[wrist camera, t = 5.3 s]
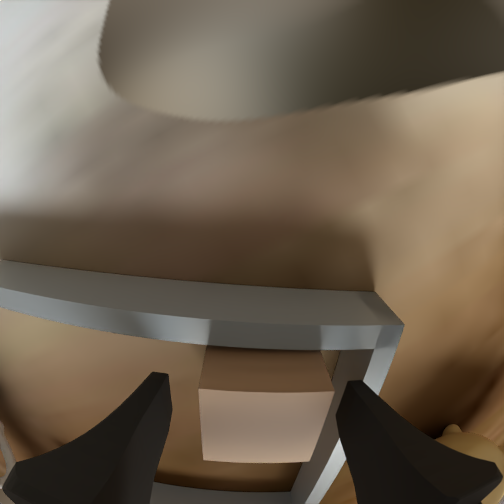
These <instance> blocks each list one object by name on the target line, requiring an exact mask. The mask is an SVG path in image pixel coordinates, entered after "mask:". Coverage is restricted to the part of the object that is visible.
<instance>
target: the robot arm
mask: <svg viewBox="0 0 504 504" xmlns="http://www.w3.org/2000/svg"><path fill="white" fill-rule="evenodd" d="M171 415H172V402H171V394H170V385H169V376H168V374H166V373H159V372H152V373H151V374H150V375H149V376H148V377H147V378H146V379H145V380H144V381H143V383H142V384H141V385H140V386H139V387H138V388H137V389H136V390H135V391H134V392H133V393H132V394H131V395H130V396H129V397H128V398H127V399H126V400H125V401H124V402H123V403H122V404H121V405H120V406H119V407H118V408H117V409H116V410H114V411H113V412H112V413H111V414H110V415H109V416H108V417H106V418H105V419H104V420H103V421H101V422H100V423H99V424H98V425H96V426H95V427H93V428H92V429H91V430H89V431H88V432H86V433H85V434H83V435H81V436H80V437H78V438H76V439H75V440H73V441H71V442H69V443H67V444H66V445H64V446H61V447H59V448H57V449H55V450H52V451H50V452H48V453H45V454H43V455H40V456H37V457H34V458H30V459H27V460H23V461H19V462H16V463H15V465H14V466H13V468H12V469H11V471H10V473H9V475H8V477H7V479H6V480H5V482H4V484H3V486H2V489H3V491H4V493H5V494H6V495H7V496H8V497H9V498H10V499H11V500H12V501H13V502H14V503H15V504H150V499H151V493H152V487H153V481H154V477H155V474H156V470H157V467H158V464H159V461H160V457H161V454H162V451H163V448H164V445H165V441H166V438H167V435H168V432H169V426H170V421H171ZM335 416H336V422H337V428H338V434H339V438H340V441H341V444H342V447H343V450H344V453H345V456H346V459H347V463H348V466H349V469H350V472H351V475H352V478H353V482H354V486H355V491H356V497H357V503H358V504H482V502H481V501H482V500H483V499H484V498H485V497H486V496H488V495H489V494H490V493H491V492H492V491H493V490H494V489H495V488H496V487H497V486H498V485H499V484H500V483H501V481H502V479H503V475H502V473H501V472H500V470H499V468H498V467H497V465H496V464H495V462H491V461H487V460H483V459H479V458H475V457H472V456H469V455H466V454H464V453H461V452H458V451H456V450H454V449H451V448H449V447H447V446H445V445H443V444H441V443H439V442H438V441H436V440H434V439H432V438H431V437H429V436H428V435H426V434H424V433H423V432H421V431H420V430H418V429H417V428H416V427H414V426H413V425H412V424H410V423H409V422H408V421H406V420H405V419H404V418H403V417H401V416H400V415H399V414H398V413H397V412H396V411H394V410H393V409H392V408H391V407H390V406H389V405H388V404H387V403H386V402H384V401H383V400H382V399H381V398H380V397H379V396H378V395H377V394H376V393H375V392H374V391H373V390H372V389H371V388H370V387H369V386H368V385H367V384H365V383H364V382H363V381H362V380H354V381H347V384H346V387H345V390H344V393H343V396H342V398H341V401H340V404H339V407H338V409H337V412H336V414H335ZM0 504H1V503H0ZM498 504H504V500H503V501H501V502H500V503H498Z"/></svg>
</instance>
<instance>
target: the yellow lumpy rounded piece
mask: <svg viewBox="0 0 504 504" xmlns="http://www.w3.org/2000/svg"><path fill="white" fill-rule="evenodd" d="M434 440H436V441H438V442H439V443H441V444H443V445H445V446H447V447H449V448H451V449H454V450H456V451H458V452H461V453H464V454H466V455H469V456H472V457H475V458H479V459H483V460H487V461H491V462H495V464H496V465H497V467H498V468H499V470H500V472H501V473H502V475H503V479H502V481H501V483H500V484H499V485H498V486H497V487H496V488H495V489H494V490H493V491H492V492H491V493H490V494H489V495H488V496H486V497H485V498H484V499H483V500H482V501H481V502H482V504H498V503H499V501H500V499H501V498H502V497H503V495H504V446H497V445H496V444H495V443H494V442H493V441H491V440H490V439H488V438H486V437H484V436H482V435H479V434H475V433H469V432H462V431H461V429H460V428H459V427H458V426H457V425H455V424H451V425H448V426H447V427H446V428H445V429H444V431H443V434H442V437H439V438H437V439H434Z"/></svg>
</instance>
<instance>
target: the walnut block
mask: <svg viewBox="0 0 504 504" xmlns="http://www.w3.org/2000/svg"><path fill="white" fill-rule="evenodd" d="M334 392H335V390H334V387H333V385H332V382H331V379H330V376H329V374H328V371H327V368H326V365H325V363H324V360H323V357H322V354H321V352H320V350H286V349H260V348H242V347H227V346H214V345H207V348H206V353H205V358H204V363H203V368H202V373H201V378H200V384H199V406H200V422H201V436H202V449H203V460H209V461H222V462H241V463H288V462H307V461H310V459H311V456H312V454H313V451H314V449H315V446H316V444H317V441H318V438H319V436H320V433H321V430H322V428H323V425H324V422H325V419H326V416H327V413H328V410H329V408H330V405H331V402H332V399H333V395H334Z"/></svg>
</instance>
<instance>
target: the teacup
mask: <svg viewBox="0 0 504 504" xmlns="http://www.w3.org/2000/svg"><path fill="white" fill-rule="evenodd" d="M4 429H5V428H4V425H3V423H2V422H1V420H0V449H1V451H2V453H3V456H4V459H5V462H6V467H7V470H6V474H5V475H4V476H3V477H0V489H2V486H3V484H4V482H5V480H6V479H7V477H8V475H9V473H10V471H11V469H12V468H13V466H14V465H15V463H16V460H15V457H14V454H13V452H12V450H11V447H10V445H9V443H8V441H7V439H6V437H5V435H4Z"/></svg>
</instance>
